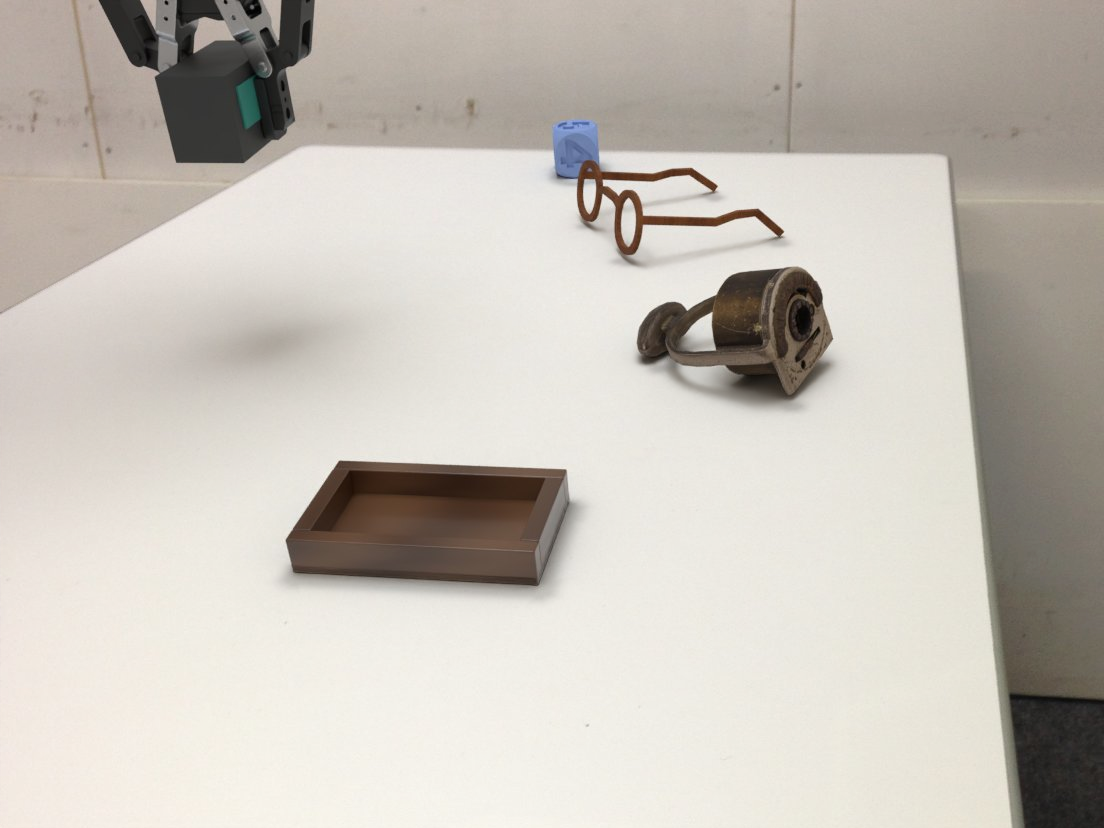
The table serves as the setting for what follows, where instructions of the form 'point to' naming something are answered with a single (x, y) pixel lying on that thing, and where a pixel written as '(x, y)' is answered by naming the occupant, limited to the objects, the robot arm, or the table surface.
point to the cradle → (431, 522)
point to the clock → (213, 106)
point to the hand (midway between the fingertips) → (238, 135)
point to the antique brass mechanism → (749, 326)
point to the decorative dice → (574, 146)
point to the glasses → (634, 197)
